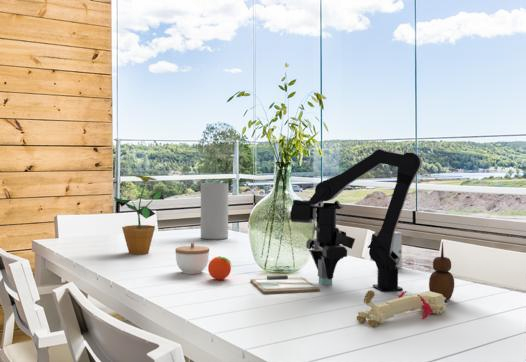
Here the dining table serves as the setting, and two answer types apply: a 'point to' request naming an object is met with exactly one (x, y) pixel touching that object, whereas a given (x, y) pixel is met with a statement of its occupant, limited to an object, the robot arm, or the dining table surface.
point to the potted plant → (140, 234)
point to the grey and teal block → (323, 274)
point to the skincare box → (398, 246)
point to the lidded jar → (192, 258)
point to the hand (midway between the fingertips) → (325, 276)
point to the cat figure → (401, 306)
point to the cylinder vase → (214, 211)
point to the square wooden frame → (283, 284)
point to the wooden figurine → (442, 277)
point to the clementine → (219, 268)
